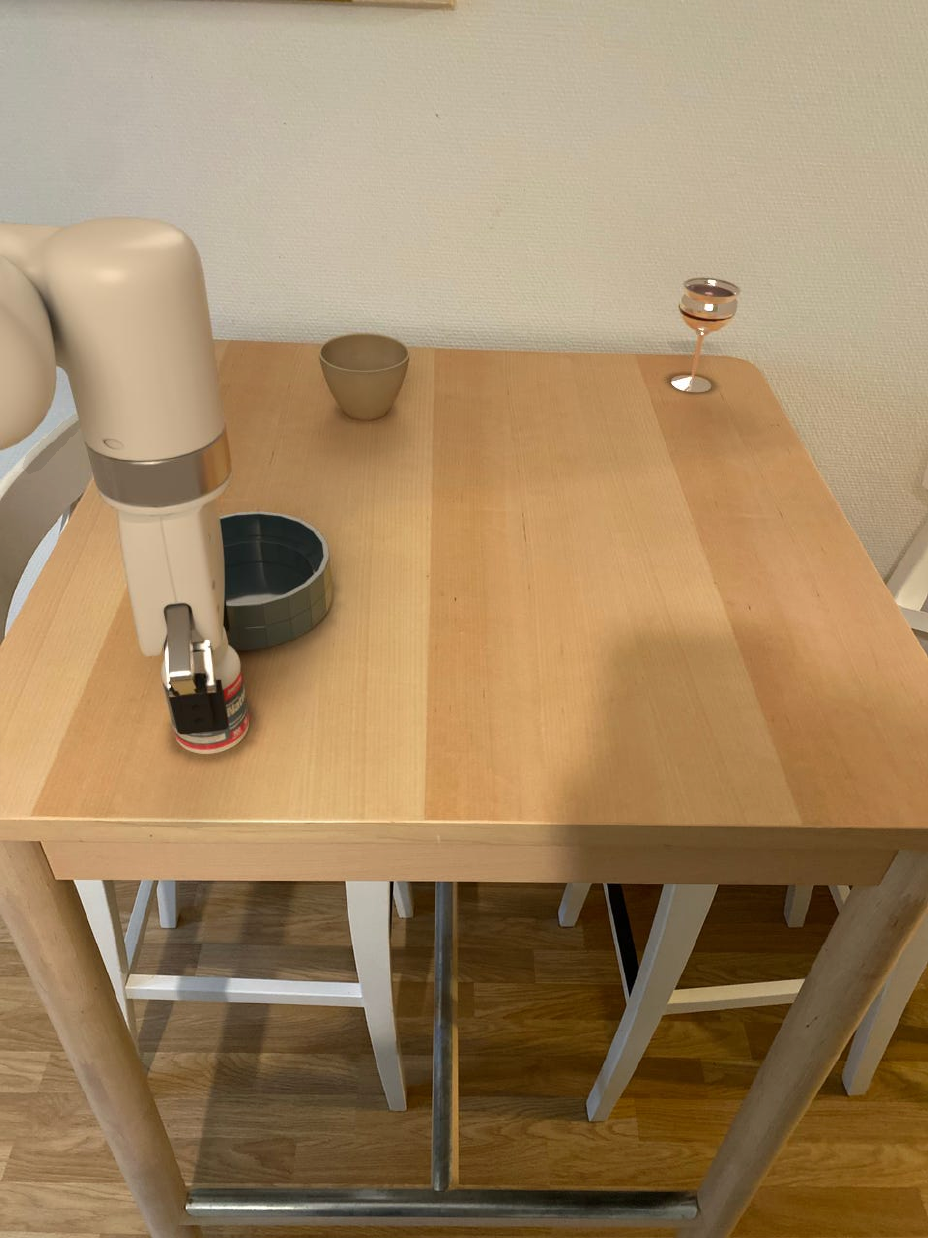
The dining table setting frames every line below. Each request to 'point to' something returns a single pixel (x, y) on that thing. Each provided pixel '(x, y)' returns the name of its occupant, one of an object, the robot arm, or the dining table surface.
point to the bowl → (273, 578)
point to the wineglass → (705, 319)
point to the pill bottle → (233, 694)
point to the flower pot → (364, 372)
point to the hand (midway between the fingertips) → (205, 677)
